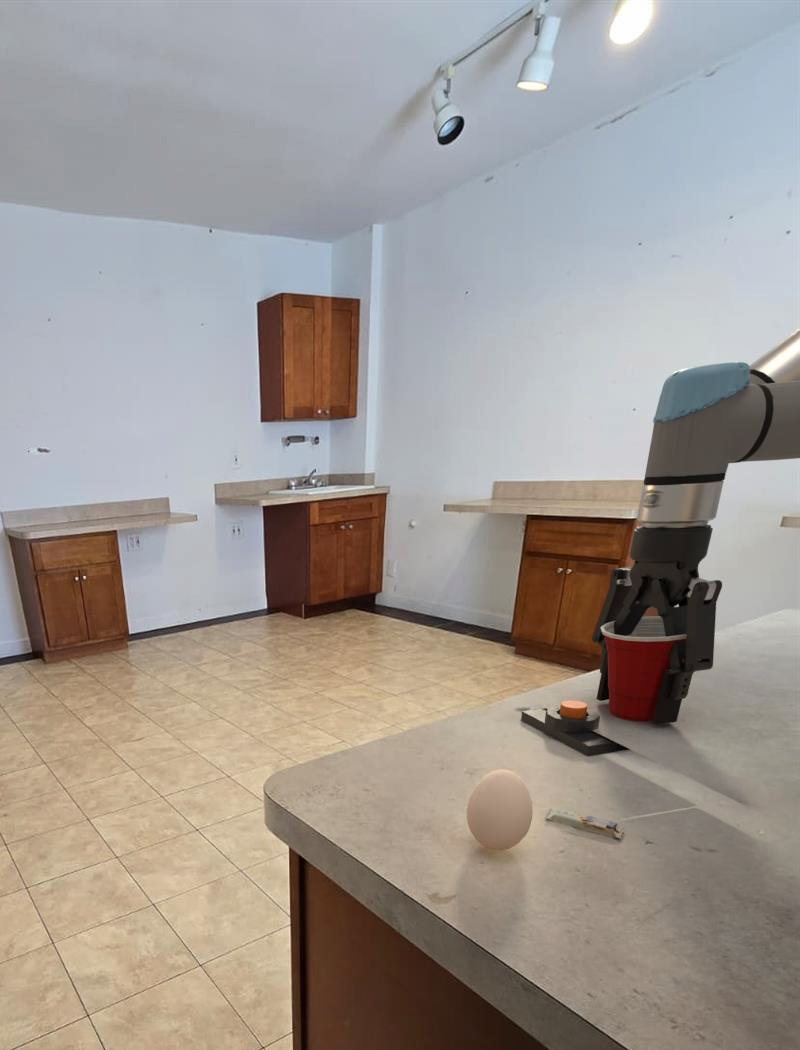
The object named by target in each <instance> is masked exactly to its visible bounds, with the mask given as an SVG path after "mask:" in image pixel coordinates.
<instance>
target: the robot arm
mask: <svg viewBox="0 0 800 1050" xmlns="http://www.w3.org/2000/svg"><path fill="white" fill-rule="evenodd" d="M652 423H653V427H652V434H651V439H650V445H649V451H648V456H647V462H646V468H645V473H644V480H643V484H642V488H641V489H642V490H641V494H640V500H639V505H638V509H637V516H636V520H637V522H639V523H641V525H639V526H636V528H635V529H634V530H633V535H632V539H631V544H630V545H631V546H630V551H629V558H630V559H631V560H632V561H634V562H633V565H632V566H629V567H620V568H613V569H611V571H610V573H609V587H608V590H607V593H606V596H605V599H604V601H603V604H602V607H601V610H600V613H599V616H598V619H597V622H596V624H595V627H594V630H593V632H592V633H593V634H592V636H591V641H592V643H594V644H598V645H600V649H601V651H602V653H601V658H600V659H601V660H600V665H599V674H600V679H599V683H598V690H597V693H596V694H597V695H596V700H598V701H600V702H602V701H603V702H604V701H609V688H608V652H607V647H606V641H605V636H604V635H603V634H602V631H601V628H600V627H602V626H603V625H604V624H606V623H609V622H612V621H615V622H614V631H615V632H614V634H615V635H622V636H627V635H630V634H632V632H633V631H634V629H635V627H636V626H637V624H638V623H639V621H640V620H641V618H642V617H644V615H645V614H646V612H647V611H648V609H650V608H651V607H652V608H654V609H656V611H657V616H660V617H662V619H663V624H664V630H665V636H666V637H669V636H676V635H683V634H687V637H686V641H685V642H680V641H677V640H675V643H674V644H673V646H672V648H671V650H670V652H669V654H668V655H669V661H670V667H671V669H668V670H665V671H664V672H663V677H662V681H661V686H660V690H659V695H658V699H657V703H656V708H655V712H654V717H653V721H651V722H652V724H655V725H663V724H670V723H676V722H678V718H679V713H680V709H681V705H682V701H683V699H686V698H687V697H688V694H689V690H690V686H691V683H692V679H693V678H692V677H693V675H694V673H695V672H701V671H707V670H711V669H712V668H713V666H714V653H715V637H716V632H715V631H716V616H717V601H718V599H719V596H720V593H721V591H722V588H723V582H722V581H721V580H720V579H714V580H707V579H704V578H701V577H700V575H699V574H700V573H699V565H700V563H701V562H702V561H703V560H704V559H705V558H706V557H707V555H708V552H709V546H710V542H711V538H712V534H713V530H714V529H713V527H712V525H711V524H708V523H709V522H711V521H713V520H715V519H716V518H717V513H718V509H719V505H720V500H721V495H722V490H723V487H724V481H725V479H726V475H727V472H728V471H727V470H728V467H729V464H737V463H747V462H765V461H766V462H767V461H768V462H769V461H781V460H794V459H800V326H799V327H798V328H797V329H795V330H794V331H793V332H791V333H790V334H788V335H787V337H785V338H784V339H782V340H781V341H780V342H779V343H778V344H776V345H775V346H773V347H772V348H770V349H769V350H768V351H767V352H765V354H762V355H761V356H760V357H759V358H758V359H756V360H755V361H754V362H753V363H752V364H750V365H749V364H748V363H747V362H743V361H740V362H722V363H713V364H704V365H699V366H698V365H697V366H693V367H687V368H682V369H679V370H676V371H674V372H672V373H671V374H670V375H668V377H667V378H666V379H665V381H664V383H663V385H662V389H661V392H660V395H659V399H658V403H657V407H656V411H655V413H654V416H653V419H652ZM683 659H684V661H685V662H682V660H683Z"/></svg>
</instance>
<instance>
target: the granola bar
mask: <svg viewBox="0 0 800 1050" xmlns="http://www.w3.org/2000/svg"><path fill="white" fill-rule="evenodd" d="M544 819H546V820H549V821H551V822H555V823H559V824H562V825H565V826H569V827H572V828H574V829H577V830H581V831H585V832H588V833H593V834H596V835H600V836H604V837H609V838H613V837H614V838H616V839H621V837H622V834H623V832H624V831H625V830H626V828H625V827H623V826H622V825H619V824H618V822H615V821H611V820H607V819H603V818H599V817H596V816H593V815H592V816H591V815H588V814H583V813H581V812H576V811H572V810H567V809H563V808H550V809H549V810H548V813H547V814H546V816H545V817H544Z"/></svg>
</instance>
